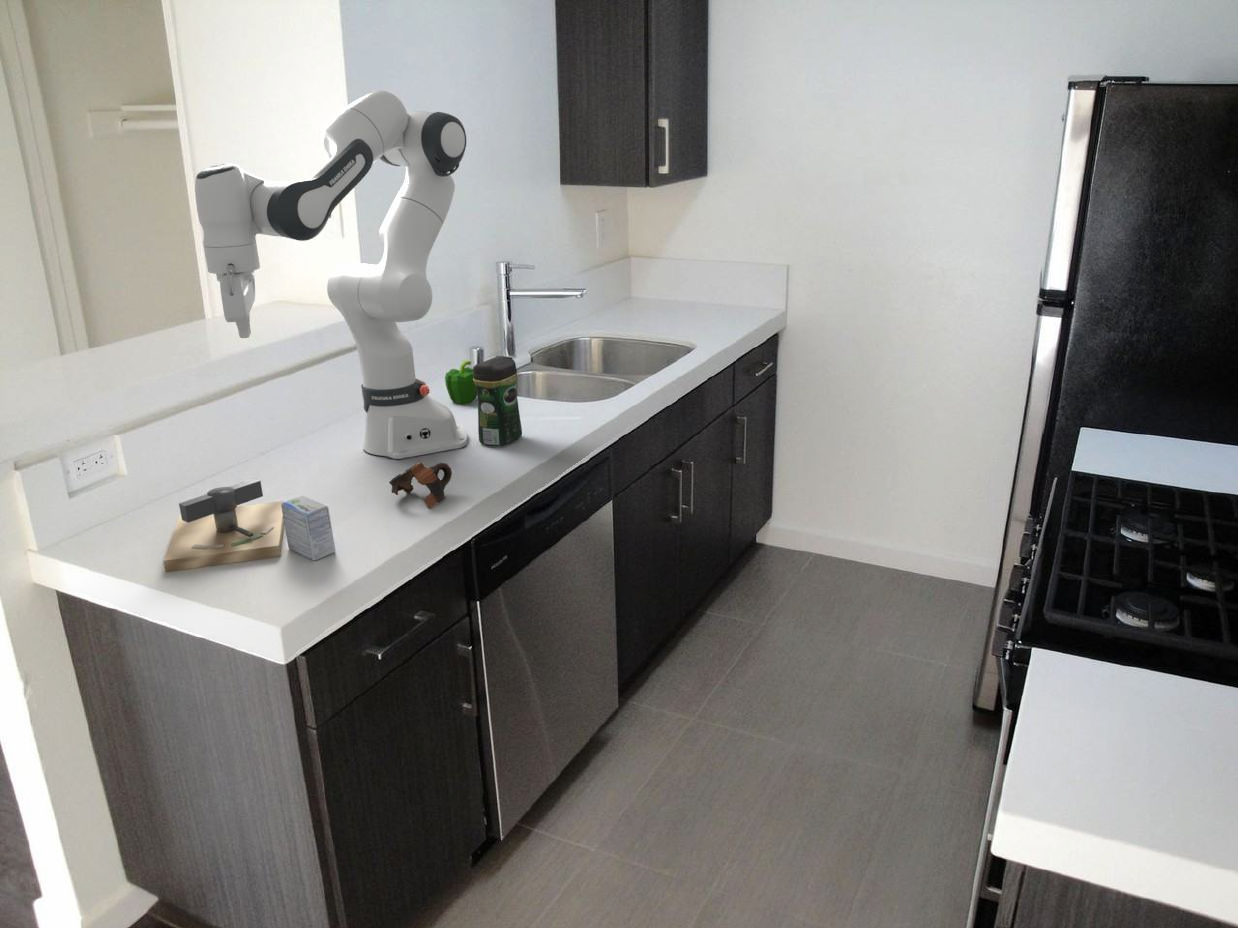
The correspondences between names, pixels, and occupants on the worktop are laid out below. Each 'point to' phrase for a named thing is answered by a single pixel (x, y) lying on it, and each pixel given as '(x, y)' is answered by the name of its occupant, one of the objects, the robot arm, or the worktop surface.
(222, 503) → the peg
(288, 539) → the medicine box
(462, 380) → the bell pepper
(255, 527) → the tuner board
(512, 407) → the coffee jar
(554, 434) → the worktop surface
